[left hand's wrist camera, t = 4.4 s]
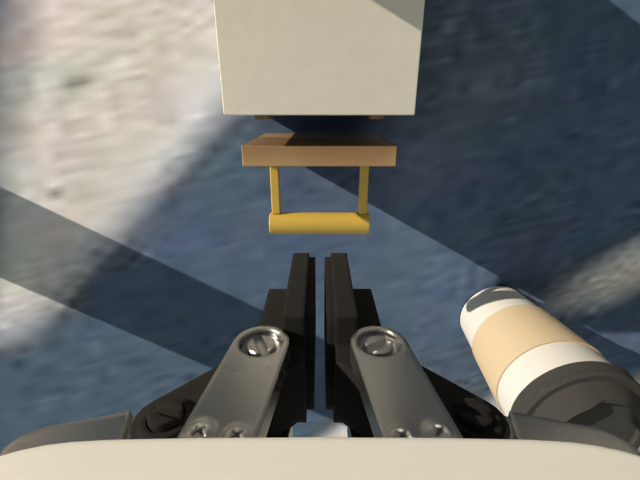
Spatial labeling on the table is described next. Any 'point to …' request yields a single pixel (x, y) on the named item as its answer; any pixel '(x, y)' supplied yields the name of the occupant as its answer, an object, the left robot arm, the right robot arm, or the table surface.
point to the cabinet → (319, 56)
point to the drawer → (319, 153)
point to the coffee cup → (547, 366)
